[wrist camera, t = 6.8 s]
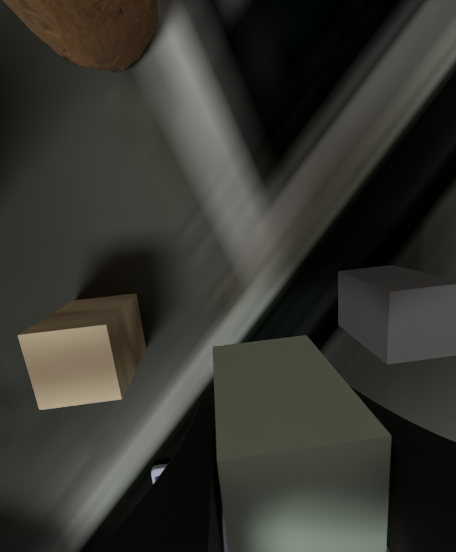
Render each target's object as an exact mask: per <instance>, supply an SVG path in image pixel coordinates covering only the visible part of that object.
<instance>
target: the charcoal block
mask: <svg viewBox="0 0 456 552" xmlns="http://www.w3.org/2000/svg"><path fill="white" fill-rule="evenodd" d="M338 325H339V326H340V327H341V328H342V329H344V330H345V331H346V332H347V333H349V334H350V335H351V336H352V337H354V338H355V339H356V340H357V341H358V342H360V343H361V344H362V345H363V346H365V347H366V348H367V349H368V350H370V351H371V352H372V353H373V354H374V355H376V356H377V357H378V358H379V359H381V360H382V361H383V362H384V363H385V364H387V365H388V364H395V363H403V362H411V361H418V360H426V359H434V358H441V357H449V356H456V280H453V279H449V278H445V277H440V276H436V275H432V274H428V273H424V272H420V271H416V270H412V269H408V268H404V267H400V266H396V265H389V266H380V267H371V268H362V269H353V270H344V271H338Z"/></svg>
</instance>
